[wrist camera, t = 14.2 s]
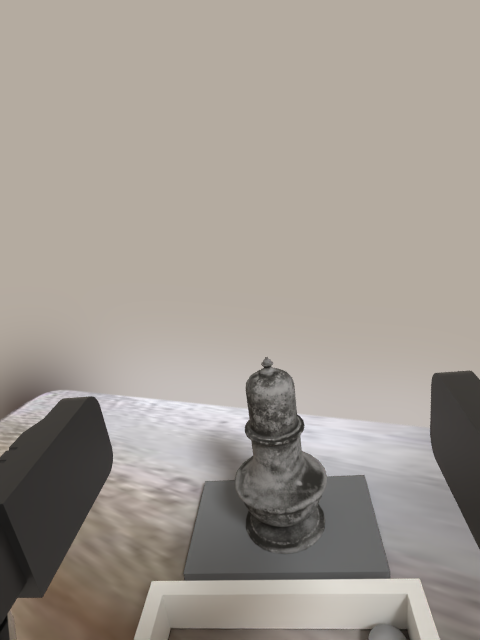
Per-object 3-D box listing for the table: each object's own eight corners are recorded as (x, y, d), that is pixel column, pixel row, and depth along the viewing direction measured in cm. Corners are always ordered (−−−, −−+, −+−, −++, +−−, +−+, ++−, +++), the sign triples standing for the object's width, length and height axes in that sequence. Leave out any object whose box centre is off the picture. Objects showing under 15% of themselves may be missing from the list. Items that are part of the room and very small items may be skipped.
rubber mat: (364, 481, 32) (364, 475, 32) (390, 579, 24) (389, 571, 24) (206, 487, 33) (205, 481, 33) (185, 581, 26) (183, 573, 26)
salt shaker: (235, 498, 31) (211, 346, 27) (314, 482, 32) (301, 331, 28) (249, 568, 26) (221, 390, 22) (343, 546, 26) (333, 369, 22)
